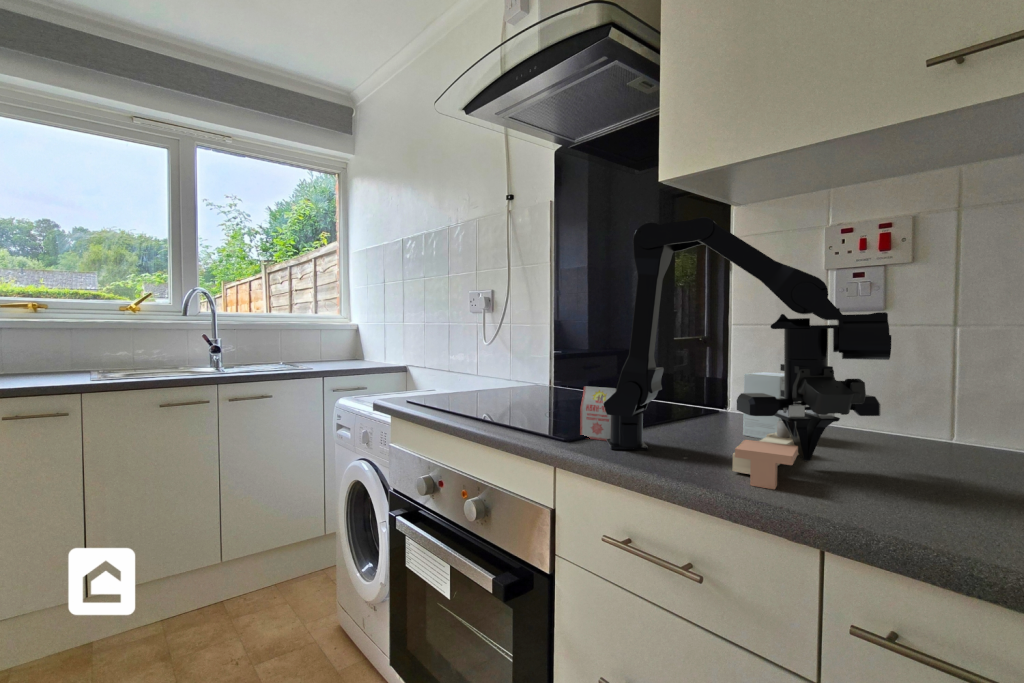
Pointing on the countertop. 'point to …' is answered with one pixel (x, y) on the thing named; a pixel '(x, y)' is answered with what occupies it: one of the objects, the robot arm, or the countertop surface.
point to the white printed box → (595, 413)
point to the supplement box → (766, 385)
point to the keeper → (765, 460)
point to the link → (779, 437)
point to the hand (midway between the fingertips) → (805, 460)
